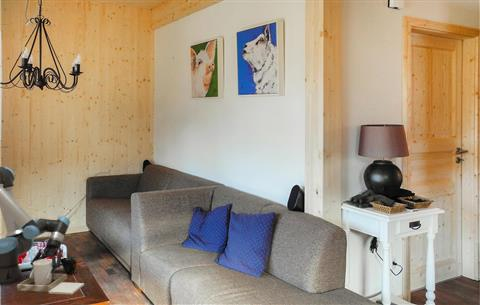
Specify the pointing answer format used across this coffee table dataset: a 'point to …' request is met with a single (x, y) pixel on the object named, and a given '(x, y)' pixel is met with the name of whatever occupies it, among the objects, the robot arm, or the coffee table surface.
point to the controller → (68, 264)
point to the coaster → (66, 288)
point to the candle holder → (42, 271)
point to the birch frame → (43, 288)
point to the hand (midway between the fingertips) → (39, 278)
